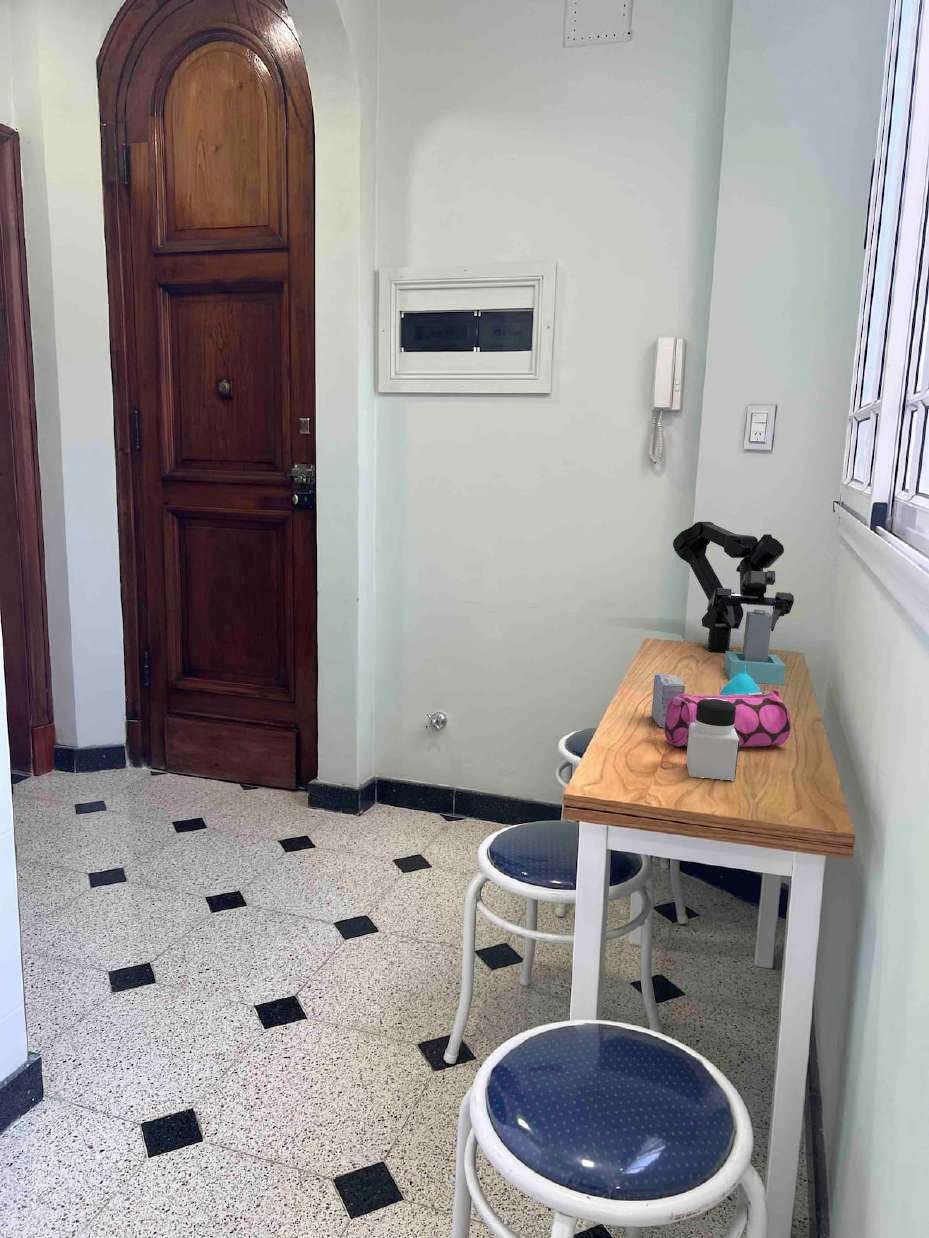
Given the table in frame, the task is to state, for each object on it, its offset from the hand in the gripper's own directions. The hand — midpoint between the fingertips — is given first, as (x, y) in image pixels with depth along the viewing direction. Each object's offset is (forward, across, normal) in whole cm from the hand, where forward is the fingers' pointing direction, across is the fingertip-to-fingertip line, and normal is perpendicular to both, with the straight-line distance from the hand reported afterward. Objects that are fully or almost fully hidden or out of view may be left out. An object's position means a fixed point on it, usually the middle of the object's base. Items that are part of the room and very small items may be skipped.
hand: (752, 629), depth 214 cm
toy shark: (+38, -7, -23) cm, 45 cm away
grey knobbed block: (+10, 0, +1) cm, 10 cm away
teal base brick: (+12, 0, +3) cm, 12 cm away
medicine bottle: (+63, -16, -48) cm, 81 cm away
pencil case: (+51, -12, -37) cm, 64 cm away
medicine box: (+44, -22, -29) cm, 57 cm away
